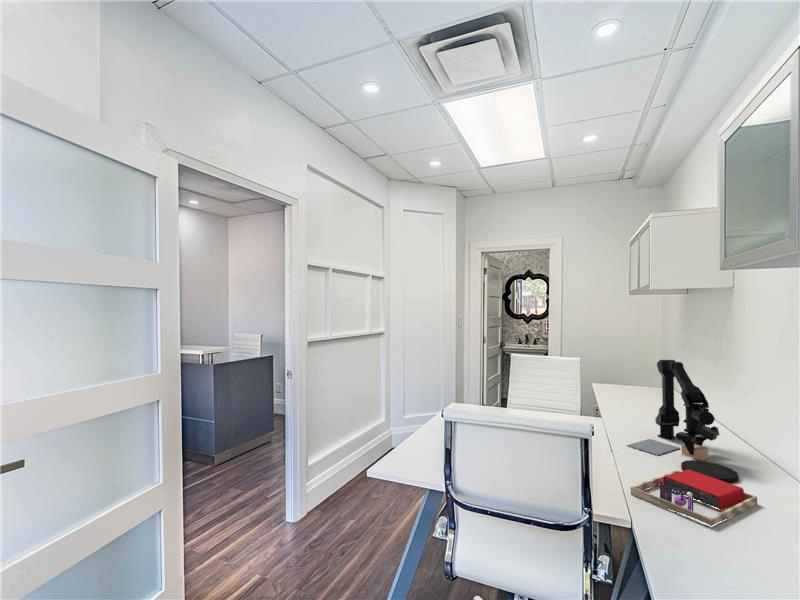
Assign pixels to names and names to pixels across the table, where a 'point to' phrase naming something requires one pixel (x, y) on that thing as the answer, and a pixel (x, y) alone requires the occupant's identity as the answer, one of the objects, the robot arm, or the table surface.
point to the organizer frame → (737, 509)
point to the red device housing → (706, 488)
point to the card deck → (696, 452)
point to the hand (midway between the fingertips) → (694, 453)
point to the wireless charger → (711, 470)
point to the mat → (653, 447)
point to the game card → (679, 499)
